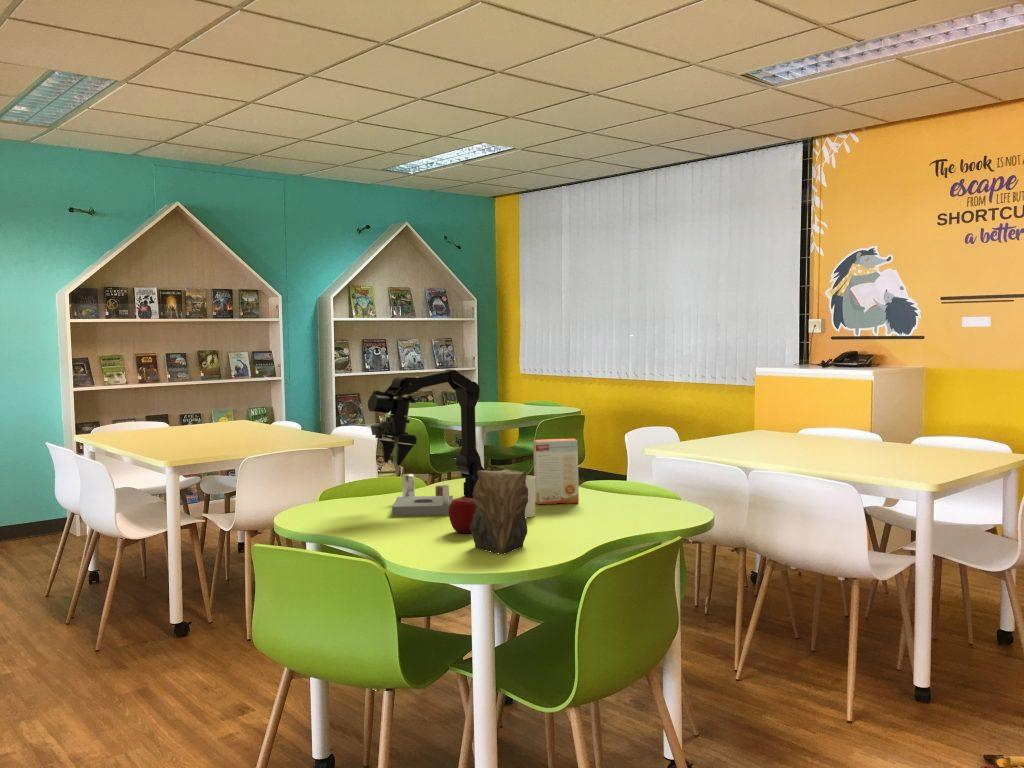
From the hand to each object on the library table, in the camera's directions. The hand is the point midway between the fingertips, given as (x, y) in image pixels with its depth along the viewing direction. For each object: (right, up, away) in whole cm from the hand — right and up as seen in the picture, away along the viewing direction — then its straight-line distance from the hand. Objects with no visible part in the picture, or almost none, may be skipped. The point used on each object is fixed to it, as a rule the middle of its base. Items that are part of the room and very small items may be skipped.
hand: (392, 463), depth 270 cm
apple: (+25, -16, -33) cm, 44 cm away
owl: (+35, -17, -51) cm, 64 cm away
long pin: (+4, -14, +13) cm, 19 cm away
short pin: (+15, -14, +13) cm, 24 cm away
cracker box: (+53, -14, +7) cm, 55 cm away
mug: (+41, -15, -13) cm, 45 cm away
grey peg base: (+10, -15, -2) cm, 18 cm away
